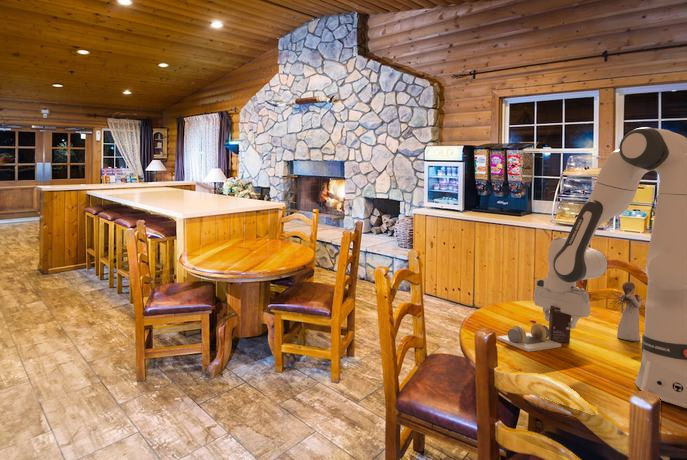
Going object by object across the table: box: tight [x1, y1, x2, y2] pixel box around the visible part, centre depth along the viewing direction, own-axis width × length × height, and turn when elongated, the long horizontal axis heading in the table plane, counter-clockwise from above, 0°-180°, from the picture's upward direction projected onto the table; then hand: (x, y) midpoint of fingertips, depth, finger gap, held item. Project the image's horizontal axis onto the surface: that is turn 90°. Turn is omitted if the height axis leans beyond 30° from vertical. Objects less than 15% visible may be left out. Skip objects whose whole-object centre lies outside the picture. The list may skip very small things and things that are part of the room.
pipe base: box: [496, 323, 562, 353], centre depth 146 cm, size 14×14×6 cm
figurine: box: [610, 281, 643, 342], centre depth 152 cm, size 10×10×20 cm
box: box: [548, 306, 572, 344], centre depth 149 cm, size 6×4×12 cm
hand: (559, 324), depth 149 cm, fingers open, 8 cm apart
